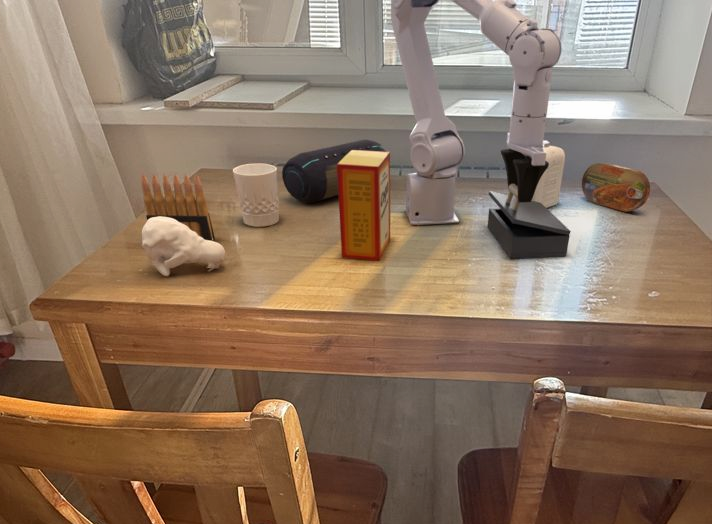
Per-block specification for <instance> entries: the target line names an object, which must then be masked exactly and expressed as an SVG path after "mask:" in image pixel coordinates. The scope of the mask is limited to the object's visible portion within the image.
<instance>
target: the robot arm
mask: <svg viewBox="0 0 712 524" xmlns="http://www.w3.org/2000/svg"><path fill="white" fill-rule="evenodd" d="M440 1H441V0H390V22H391V26H392V31H393V34H394V37H395V38H394V39H395V42H396V47H397V51H398V54H399V55H398V56H399V58H400V63H401V66H402V70H403V74H404V79H405V84H406V87H407V90H408V95H409V99H410V104H411V107H412V111H413V116H414V120H415V123H416V124H415V126H414V127H413V129H412V131H411V133H410V134H409V137H408V139H409V142H410V143H409V144H410V155H409V156H410V157H409V158H410V162H411V166H412V167H413V169H414V170H415V172H413V173H407V175H406V183H405V184H406V186H405V188H406V189H405V191H406V192H405V195H406V197H405V198H406V199H405V213H406V216H407V218H408V220H409V223H410V225H412V226H421V225H423V226H424V225H443V224H445V225H447V224H459V223H460V220H459V218H458V216H457V215H456V214H455V213H456V212H455V199H456V198H455V196H456V180H457V179H456V178H457V172H458V171H459V165H460V164H462V162H463V161H464V158H465V154H466V148H465V144H464V141H463V139H462V138H461V137H460V135H459V133H458V130H457V126H456V124H455V123H454V122H453V121H452V120H451V119H450V118H449V117H447V116H446V114H445V113H446V112H445V109H444V105H443V100H442V96H441V91H440V87H439V83H438V79H437V75H436V70H435V66H434V65H435V64H434V62H433V57H432V53H431V48H430V44H429V40H428V36H427V35H428V34H427V30H426V27H425V22H426V20H427V18H428V17H429V15H430V13H431V12H432V11H433V10H434V9H435V8H436V6H437V5H438V4H439V2H440ZM450 1H451V2H452V3H454V4H455V5H457V6H458V7H460V8H461V9H462V10H463V11H465V12H466V13H468V14H469V15H471V17H474V18H475V19H476V20H477V21H479V30H480V33H481V34H482V35H483V36H484V37H485V38H487V40H488V41H490V42H491V43H493V44H494V45H495V46H496V47H497V48H498V49H500V50H501V51H502V52H503V53H505V54H506V55H507V56H508V58H509V63H510V66H511V67H512V69H513V78H512V79H513V88H512V90H513V91H512V101H511V112H510V122H509V132H507V133H506V147H507V148H508V149H507V148H506V149H501V150H500V155H501V157H502V159H503V162H504V166H505V171H506V172H505V173H506V181H507V188H508V192H509V191H510V190H509V185H510V184H515V185H516V186H517V187H518V201H519V202H531V200H532V198H533V196H534V193H535V190H536V187H537V185H538V182H539V180H540V178H541V177H542V175H543V173H544V172H545V171H546V169H547V168H548V166H549V163H548V162H547V161H546V152H545V151H544V147H549V146H551V142H550V141H548V140H544V139H545V131H546V123H547V115H548V107H549V100H550V92H551V85H552V84H551V83H552V75H553V68H554V66H556V65H557V63H559V60H560V58H561V56H562V49H563V48H562V42H561V39H560V37H559V36H558V34H557V33H556V32H555V30H554V29H553V28H549V27H543V28H539V22H538V20H537V19H535V18H529V17H527V16H526V15H525V14H524V13H522V12H521V11H520V10H519V9H517V8H516V7H517V4H518V3H517V2H516V1H514V0H494V1H493V0H450ZM434 136H435V137H434Z"/></svg>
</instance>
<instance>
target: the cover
mask: <svg viewBox="0 0 712 524" xmlns="http://www.w3.org/2000/svg"><path fill="white" fill-rule="evenodd" d="M509 190H510V191H509ZM487 194H488V197H490V199H492V201H494V203H495V204H496V205H497V207H498V208H500V209H501V210H502V211H503V212H504V213H505V215H506V216H507V217H508V218H509V219H510V220H511V222H512V223H515V224H520V225H524V226H529V227H534V228H538V229H543V230H548V231H552V232H557V233H562V234H566V235H569V236H571V235H570V234H571V232H572V231H571V230H570V229H569V228H568V227H567V226H566V225H564V223H562V221H561V220H560V219H559V218H557V216H555V215H554V213H552V212H551V211H550V210H549V209H548V207H547V208H546V207H545V206H544V205H542V204H541V203H540V202H535V201H531V202H519V201H518V187H517V186H516V185H515V184H510V185H509V189H508V194H504V193H501V192H495V191H491V190H489V192H488V193H487Z"/></svg>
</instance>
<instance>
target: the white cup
mask: <svg viewBox="0 0 712 524" xmlns="http://www.w3.org/2000/svg"><path fill="white" fill-rule="evenodd" d="M277 168H278V167H276V166H275V165H274V164H269V163H262V162H261V163H257V162H256V163H246V164H241V165H238V166H235V167H234V168H233V169H232V174H233V175H232V176H233V180H234V185H235V190H236V195H237V198H238V203H239V209H240V210H241V214H242V219H243V224H245V225H247V226H249V227H255V228H262V227H264V228H265V227H269V226H270V227H271V226H273V225H275V224H278V222H279V221H280V211H279V206H280V204H279V202H280V201H279V186H278V184H279V183H278V182H279V181H278V170H277Z"/></svg>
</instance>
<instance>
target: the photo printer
mask: <svg viewBox="0 0 712 524" xmlns="http://www.w3.org/2000/svg"><path fill="white" fill-rule="evenodd" d="M544 151H545V152H546V161H547V162H548V163H549V166H548V168H547V169H546V171H545V172H544V173H543V175H542V177H541V178H540V180H539V182H538V185H537V187H536V190H535V193H534V196H533V198H532V200H531V201H535V202H540V203H541V204H542V205H544V206H545V207H546V208H547V209H548V208H551V207H553V206H556V205H557V204H558V203H559V199H560V193H561V188H562V187H561V186H562V180H563V174H564V168H565V162H566V154H565V151H564V149H563V148H561V147H559V146H555V145H550V146H549V147H544Z"/></svg>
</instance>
